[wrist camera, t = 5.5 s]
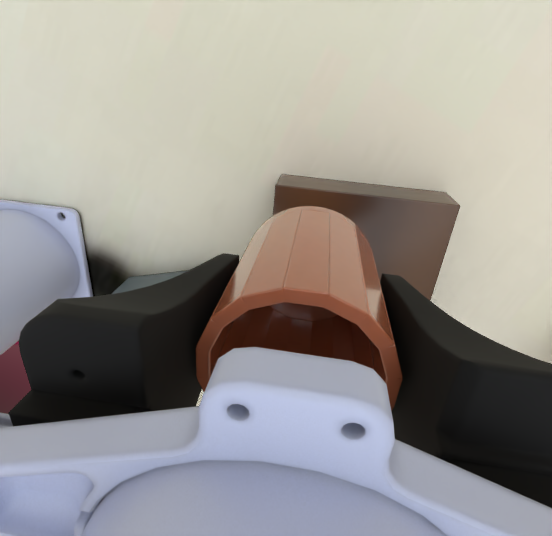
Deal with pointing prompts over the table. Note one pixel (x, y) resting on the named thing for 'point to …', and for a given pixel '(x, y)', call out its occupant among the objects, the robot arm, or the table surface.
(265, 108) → the table surface
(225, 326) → the cup
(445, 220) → the walnut block
